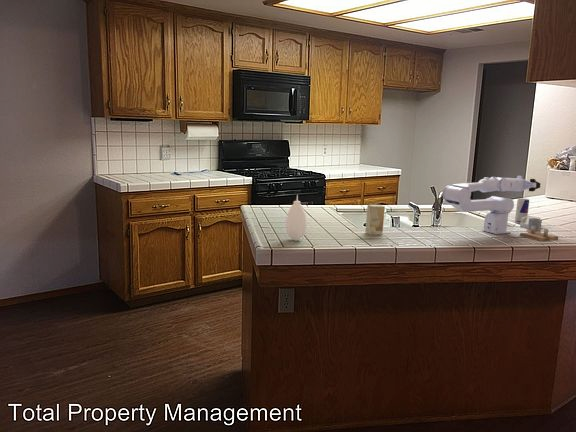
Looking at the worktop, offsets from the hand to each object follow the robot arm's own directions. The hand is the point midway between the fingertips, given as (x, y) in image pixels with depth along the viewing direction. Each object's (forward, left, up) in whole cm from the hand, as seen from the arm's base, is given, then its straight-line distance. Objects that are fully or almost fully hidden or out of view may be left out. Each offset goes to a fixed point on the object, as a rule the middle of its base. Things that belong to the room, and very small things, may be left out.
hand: (531, 185), depth 218 cm
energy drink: (+10, +11, -21) cm, 26 cm away
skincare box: (-77, +13, -21) cm, 80 cm away
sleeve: (-4, -7, -20) cm, 22 cm away
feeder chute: (+5, +2, -20) cm, 21 cm away
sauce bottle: (-114, +13, -21) cm, 116 cm away
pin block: (-12, -15, -20) cm, 28 cm away
